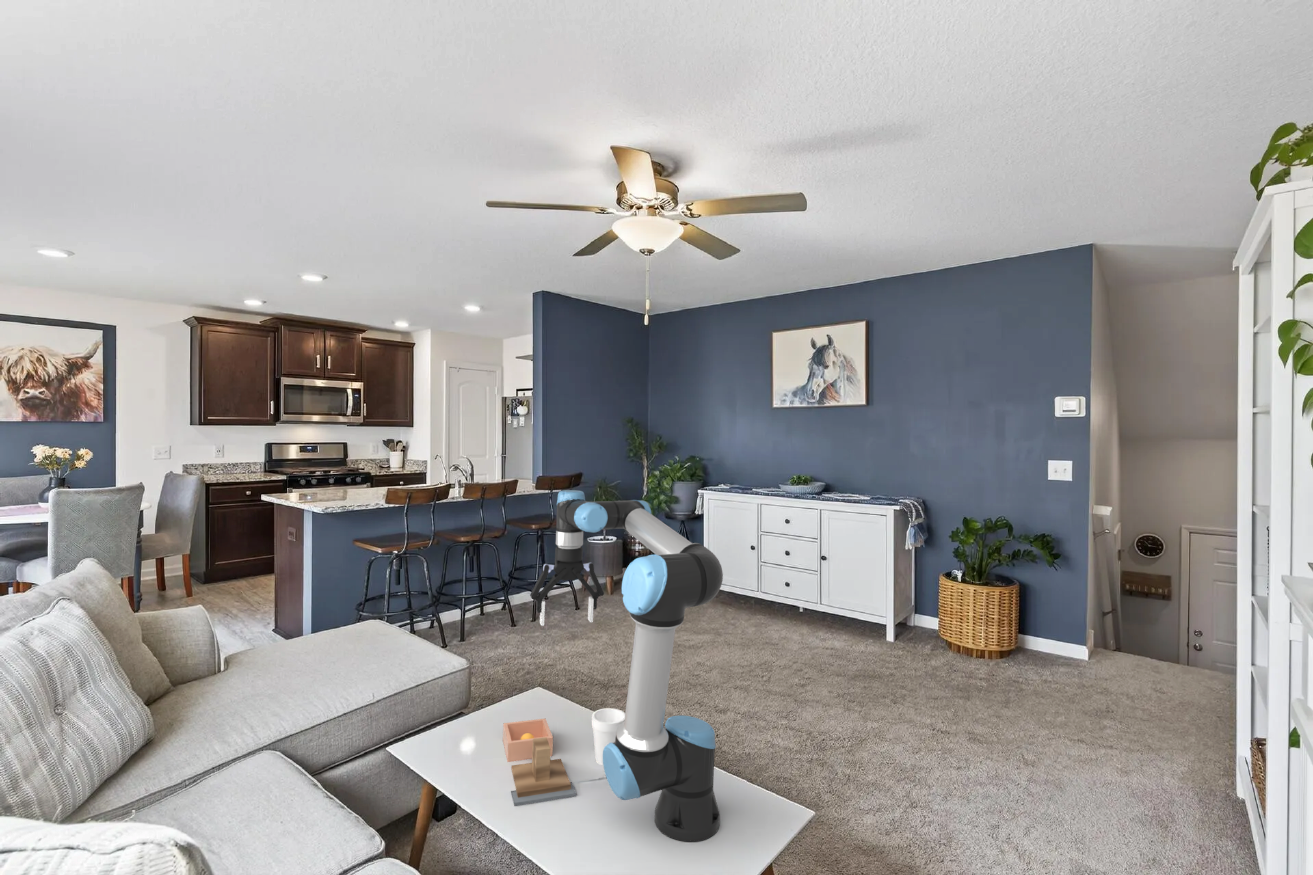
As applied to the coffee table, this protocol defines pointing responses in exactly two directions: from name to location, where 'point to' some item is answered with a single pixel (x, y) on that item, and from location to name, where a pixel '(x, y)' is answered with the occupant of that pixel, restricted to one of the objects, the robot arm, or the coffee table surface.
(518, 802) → the mat
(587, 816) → the coffee table surface
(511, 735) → the pink open box
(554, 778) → the lid
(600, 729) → the foam cup
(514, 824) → the coffee table surface
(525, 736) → the clementine
